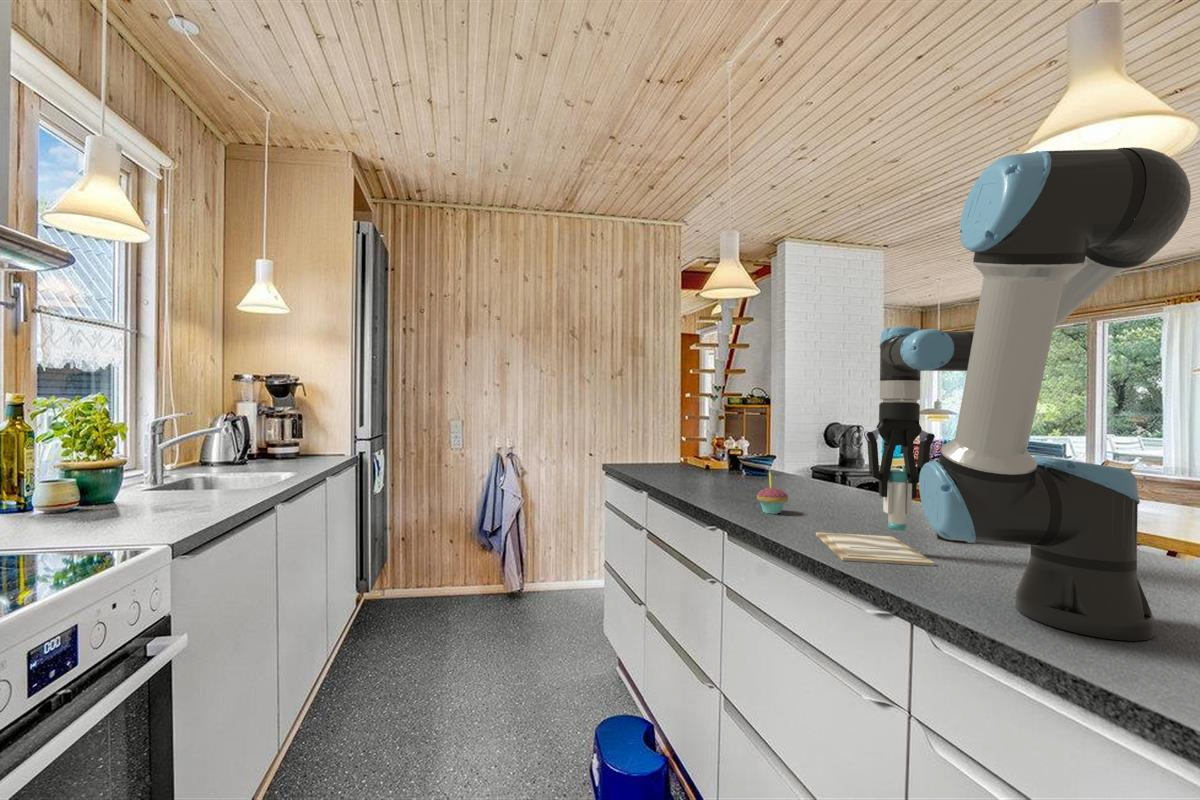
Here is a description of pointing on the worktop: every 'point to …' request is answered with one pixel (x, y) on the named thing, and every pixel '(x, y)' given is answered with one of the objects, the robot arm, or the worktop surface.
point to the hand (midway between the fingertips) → (897, 512)
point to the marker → (898, 500)
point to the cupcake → (772, 498)
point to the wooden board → (872, 549)
